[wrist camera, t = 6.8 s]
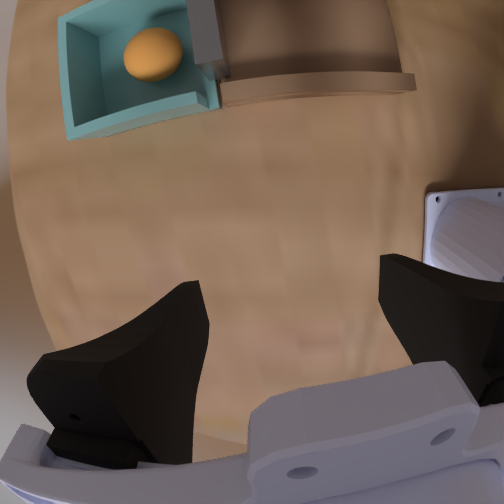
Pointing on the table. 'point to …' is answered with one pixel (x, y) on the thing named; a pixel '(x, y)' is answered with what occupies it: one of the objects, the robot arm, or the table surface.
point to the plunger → (208, 38)
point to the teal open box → (124, 69)
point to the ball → (153, 54)
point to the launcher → (309, 50)
